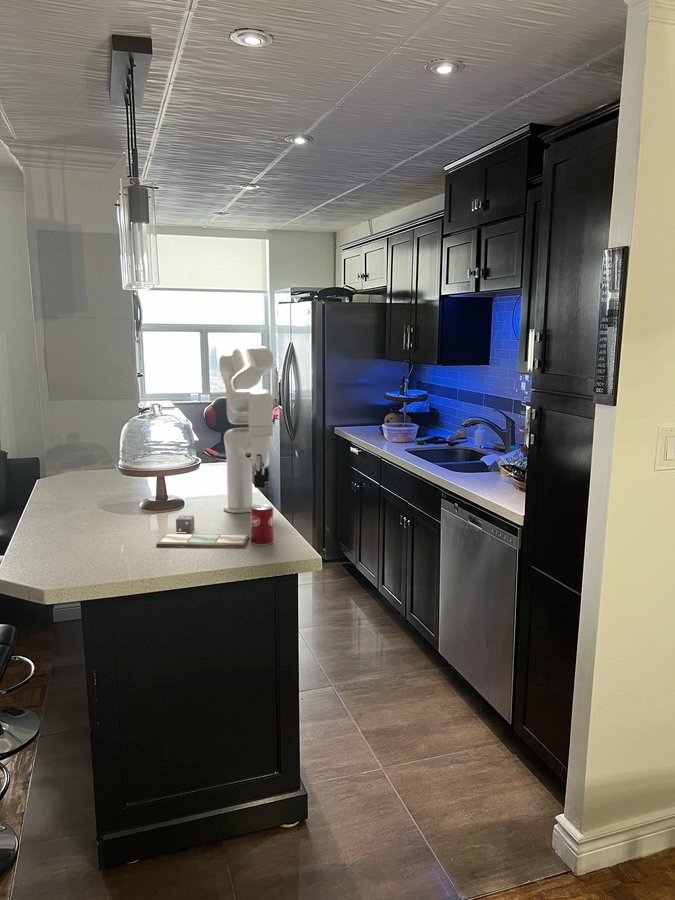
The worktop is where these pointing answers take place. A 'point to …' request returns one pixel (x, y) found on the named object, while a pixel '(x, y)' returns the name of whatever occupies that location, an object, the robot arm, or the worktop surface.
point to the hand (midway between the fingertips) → (261, 484)
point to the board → (203, 540)
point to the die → (185, 523)
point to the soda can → (262, 525)
